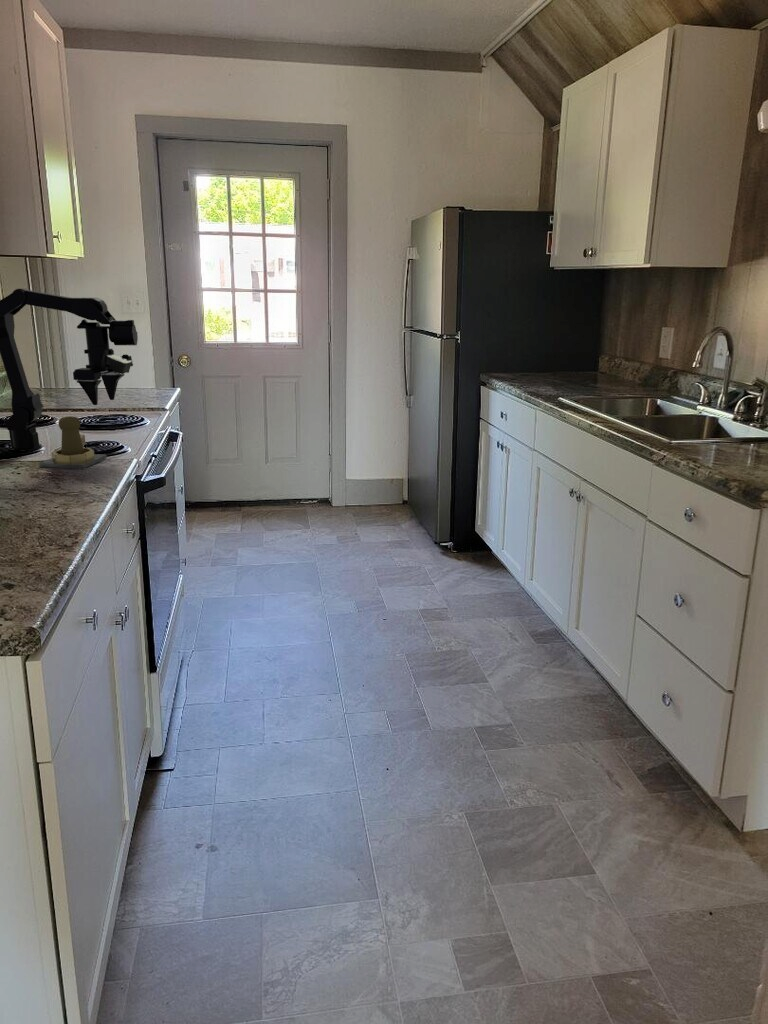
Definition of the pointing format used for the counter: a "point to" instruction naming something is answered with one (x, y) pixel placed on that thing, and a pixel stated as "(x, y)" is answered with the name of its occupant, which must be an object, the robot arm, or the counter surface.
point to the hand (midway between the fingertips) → (103, 402)
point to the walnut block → (83, 439)
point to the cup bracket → (73, 459)
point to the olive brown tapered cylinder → (71, 436)
